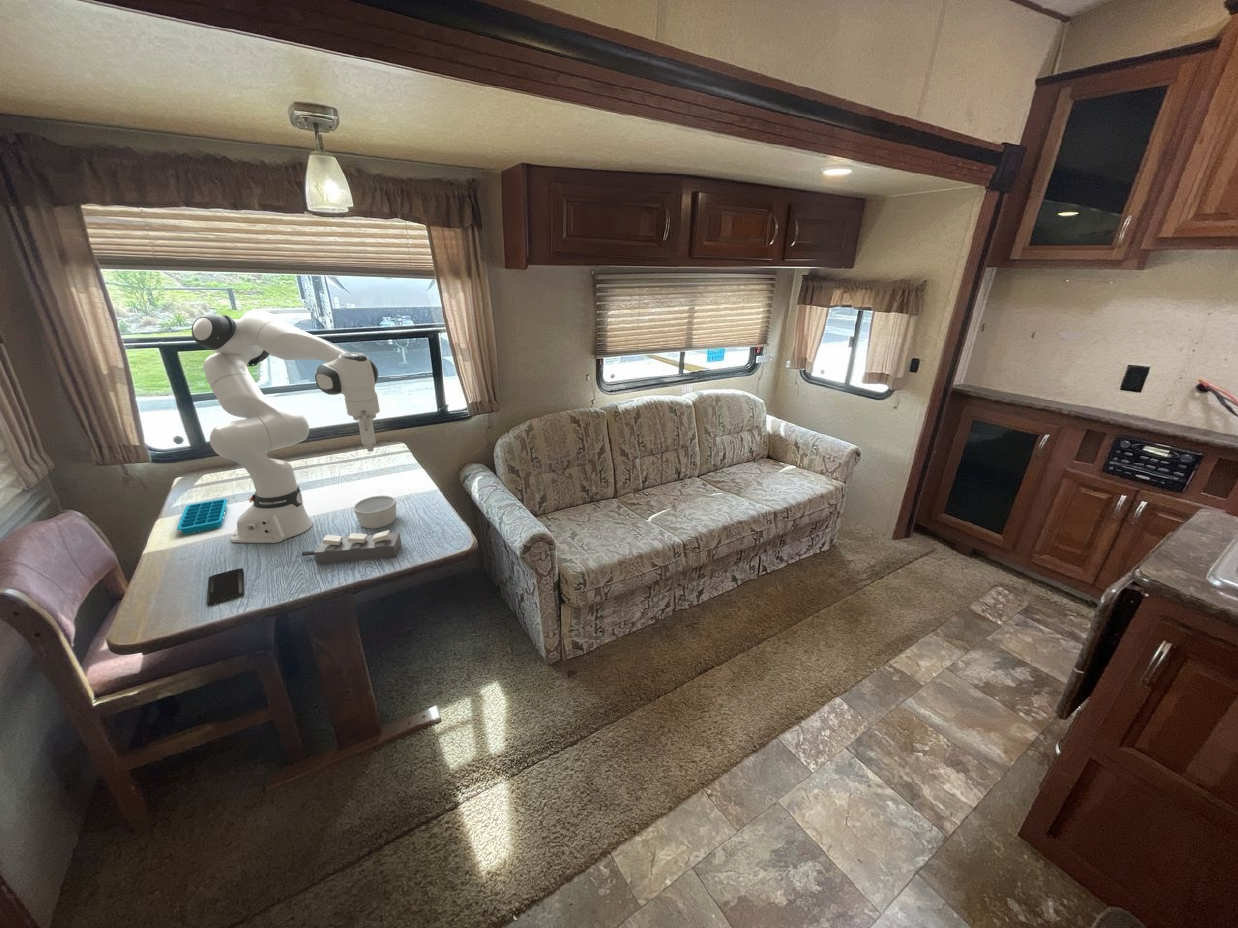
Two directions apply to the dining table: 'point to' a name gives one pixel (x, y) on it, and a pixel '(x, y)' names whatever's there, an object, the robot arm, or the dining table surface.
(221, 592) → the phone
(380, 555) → the power strip
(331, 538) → the rocker
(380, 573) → the dining table surface
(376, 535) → the block
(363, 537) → the rocker
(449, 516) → the dining table surface
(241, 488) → the dining table surface
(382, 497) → the ramekin
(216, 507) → the ice cube tray
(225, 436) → the robot arm
